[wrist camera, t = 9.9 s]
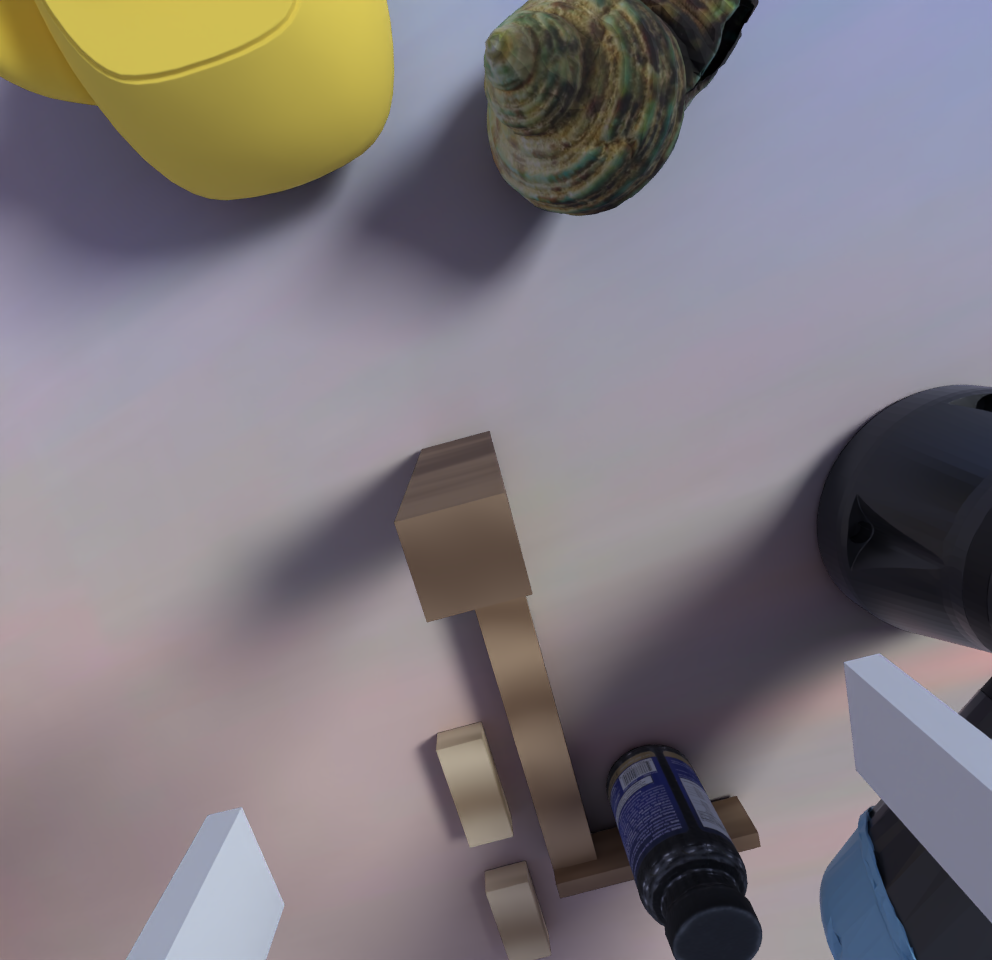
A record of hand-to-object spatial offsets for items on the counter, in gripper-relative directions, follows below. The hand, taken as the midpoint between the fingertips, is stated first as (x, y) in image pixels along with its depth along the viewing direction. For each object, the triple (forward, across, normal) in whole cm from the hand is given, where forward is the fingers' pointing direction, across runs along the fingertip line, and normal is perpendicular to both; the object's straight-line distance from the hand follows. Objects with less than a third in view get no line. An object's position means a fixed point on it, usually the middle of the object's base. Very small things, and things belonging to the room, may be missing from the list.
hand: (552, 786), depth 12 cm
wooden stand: (+22, +3, -11) cm, 25 cm away
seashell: (+22, +9, +18) cm, 30 cm away
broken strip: (+22, -6, -25) cm, 34 cm away
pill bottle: (+23, +5, -22) cm, 32 cm away
